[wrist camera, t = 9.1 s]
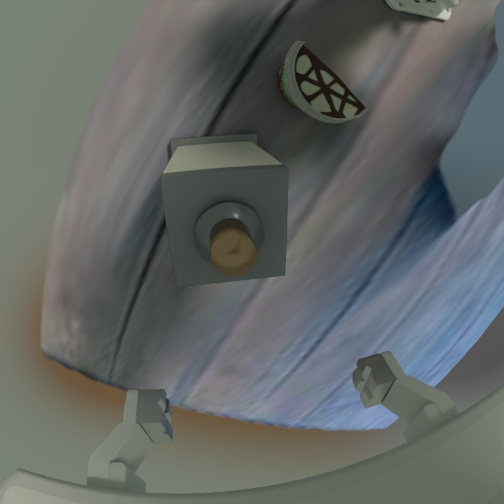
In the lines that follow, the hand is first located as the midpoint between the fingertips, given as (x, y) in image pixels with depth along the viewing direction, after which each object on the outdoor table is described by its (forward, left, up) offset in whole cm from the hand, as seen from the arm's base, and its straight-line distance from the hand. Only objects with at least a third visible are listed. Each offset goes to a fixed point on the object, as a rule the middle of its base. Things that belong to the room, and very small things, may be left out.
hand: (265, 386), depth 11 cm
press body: (0, 0, -35) cm, 35 cm away
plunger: (0, 0, -30) cm, 30 cm away
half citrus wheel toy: (-12, -12, -35) cm, 39 cm away
